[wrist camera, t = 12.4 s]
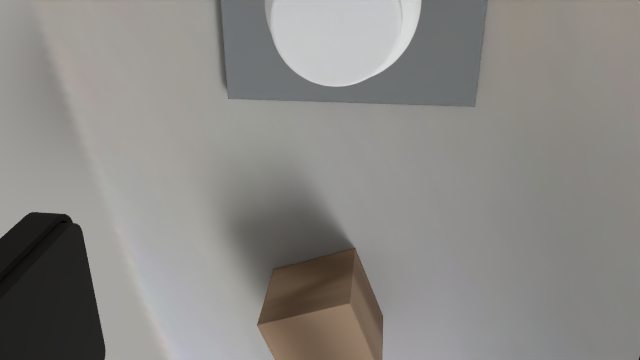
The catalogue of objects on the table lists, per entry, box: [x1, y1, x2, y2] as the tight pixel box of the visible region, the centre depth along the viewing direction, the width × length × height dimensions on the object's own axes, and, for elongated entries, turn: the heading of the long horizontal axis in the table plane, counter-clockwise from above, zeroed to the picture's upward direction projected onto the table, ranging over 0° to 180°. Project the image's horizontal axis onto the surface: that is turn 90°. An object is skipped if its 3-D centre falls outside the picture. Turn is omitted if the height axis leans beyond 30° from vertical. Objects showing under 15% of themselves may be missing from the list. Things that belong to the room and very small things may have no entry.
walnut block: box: [257, 248, 383, 360], centre depth 33 cm, size 5×5×5 cm
